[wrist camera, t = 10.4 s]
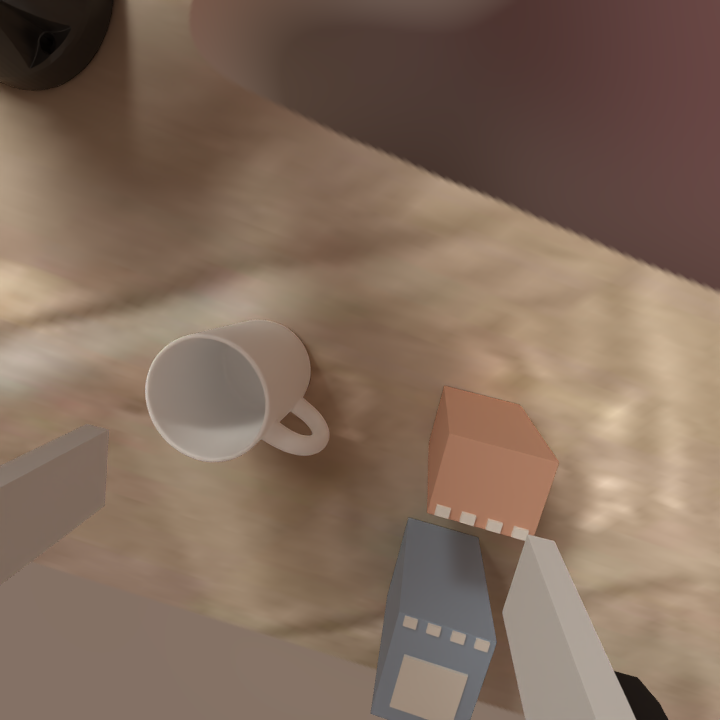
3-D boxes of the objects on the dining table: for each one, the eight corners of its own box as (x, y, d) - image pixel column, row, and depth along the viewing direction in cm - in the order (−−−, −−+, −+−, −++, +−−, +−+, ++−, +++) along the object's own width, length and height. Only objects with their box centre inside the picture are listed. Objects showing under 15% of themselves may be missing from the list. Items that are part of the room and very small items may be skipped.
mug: (369, 386, 36) (344, 428, 26) (312, 459, 38) (269, 523, 28) (253, 297, 37) (185, 306, 27) (202, 374, 39) (122, 409, 29)
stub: (444, 385, 35) (449, 434, 24) (520, 404, 35) (560, 464, 24) (428, 443, 36) (426, 514, 25) (502, 462, 36) (532, 544, 25)
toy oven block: (408, 517, 38) (399, 614, 27) (478, 537, 37) (497, 645, 26) (387, 595, 40) (370, 716, 29) (453, 616, 39) (461, 748, 28)
